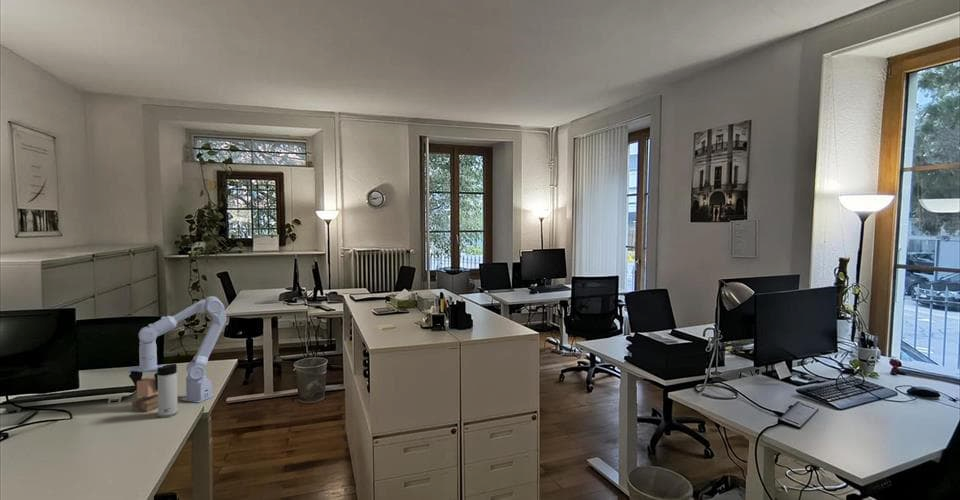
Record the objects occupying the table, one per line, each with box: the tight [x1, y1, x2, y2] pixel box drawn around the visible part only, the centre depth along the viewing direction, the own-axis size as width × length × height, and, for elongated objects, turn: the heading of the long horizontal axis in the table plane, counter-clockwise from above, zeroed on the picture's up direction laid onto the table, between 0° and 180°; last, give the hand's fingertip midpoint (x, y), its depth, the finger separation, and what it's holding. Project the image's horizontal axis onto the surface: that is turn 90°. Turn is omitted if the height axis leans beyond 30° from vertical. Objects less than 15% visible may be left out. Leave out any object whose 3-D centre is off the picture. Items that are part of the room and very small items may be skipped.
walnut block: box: [131, 393, 158, 413], centre depth 184 cm, size 8×8×4 cm
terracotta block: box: [136, 376, 158, 397], centre depth 183 cm, size 6×6×6 cm
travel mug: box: [157, 363, 179, 419], centre depth 176 cm, size 6×7×20 cm
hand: (148, 389), depth 183 cm, fingers closed on terracotta block, 7 cm apart
